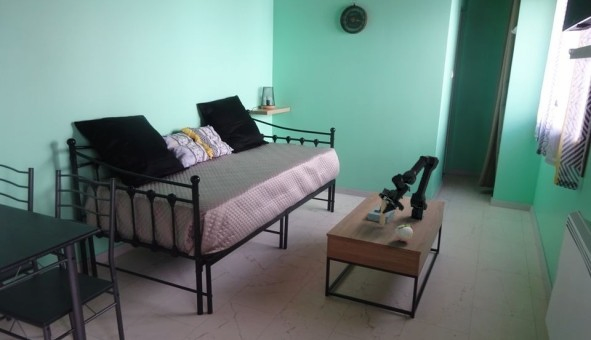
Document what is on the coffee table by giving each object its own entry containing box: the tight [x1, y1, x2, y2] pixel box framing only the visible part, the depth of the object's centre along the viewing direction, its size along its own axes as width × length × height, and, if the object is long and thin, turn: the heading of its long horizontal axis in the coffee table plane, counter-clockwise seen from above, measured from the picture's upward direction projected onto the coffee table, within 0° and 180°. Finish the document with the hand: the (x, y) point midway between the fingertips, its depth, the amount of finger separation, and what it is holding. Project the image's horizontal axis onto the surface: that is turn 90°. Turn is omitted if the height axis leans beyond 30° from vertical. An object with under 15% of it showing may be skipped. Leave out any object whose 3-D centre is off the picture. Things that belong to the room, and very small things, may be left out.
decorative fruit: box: [394, 224, 414, 242], centre depth 211 cm, size 9×8×10 cm
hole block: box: [367, 205, 396, 224], centre depth 246 cm, size 12×16×4 cm
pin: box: [378, 199, 387, 226], centre depth 230 cm, size 3×3×14 cm
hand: (381, 212), depth 229 cm, fingers closed on pin, 3 cm apart
